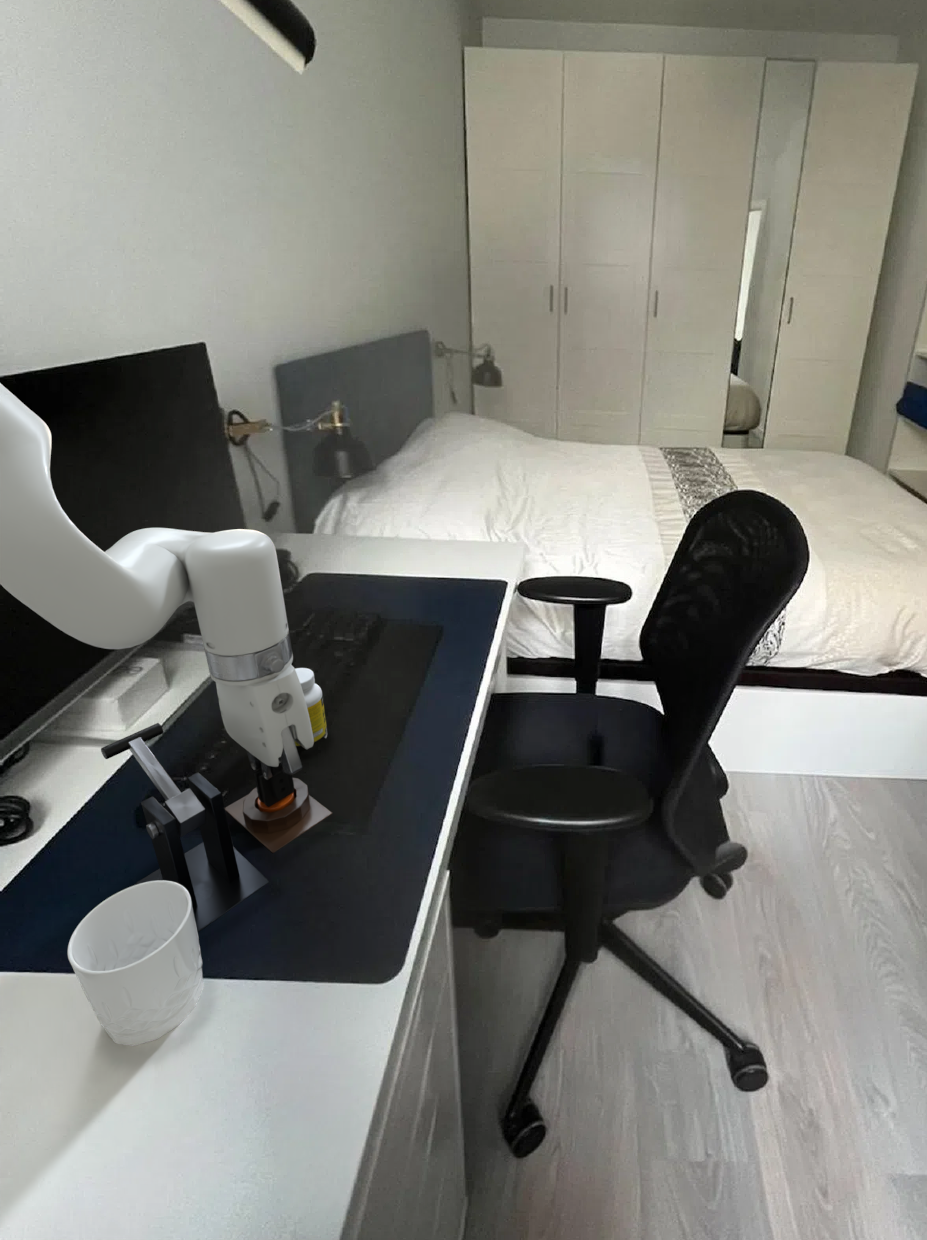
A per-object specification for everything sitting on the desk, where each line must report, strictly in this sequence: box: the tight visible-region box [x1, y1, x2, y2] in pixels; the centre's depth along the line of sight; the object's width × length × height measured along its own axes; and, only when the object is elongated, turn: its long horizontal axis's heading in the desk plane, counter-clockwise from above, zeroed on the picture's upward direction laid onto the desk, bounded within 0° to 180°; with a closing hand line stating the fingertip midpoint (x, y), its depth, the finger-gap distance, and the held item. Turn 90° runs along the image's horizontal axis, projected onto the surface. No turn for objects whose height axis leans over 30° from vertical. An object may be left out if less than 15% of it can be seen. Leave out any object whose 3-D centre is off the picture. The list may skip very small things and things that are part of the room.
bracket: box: [135, 772, 271, 933], centre depth 62 cm, size 10×8×12 cm
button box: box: [224, 777, 333, 854], centre depth 72 cm, size 10×7×3 cm
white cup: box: [67, 880, 205, 1047], centre depth 52 cm, size 8×8×10 cm
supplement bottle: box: [294, 667, 328, 747], centre depth 83 cm, size 5×5×10 cm
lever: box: [100, 722, 205, 838], centre depth 62 cm, size 12×5×2 cm, turn 54°
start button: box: [258, 792, 295, 813], centre depth 72 cm, size 4×4×2 cm
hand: (277, 796), depth 72 cm, fingers closed
